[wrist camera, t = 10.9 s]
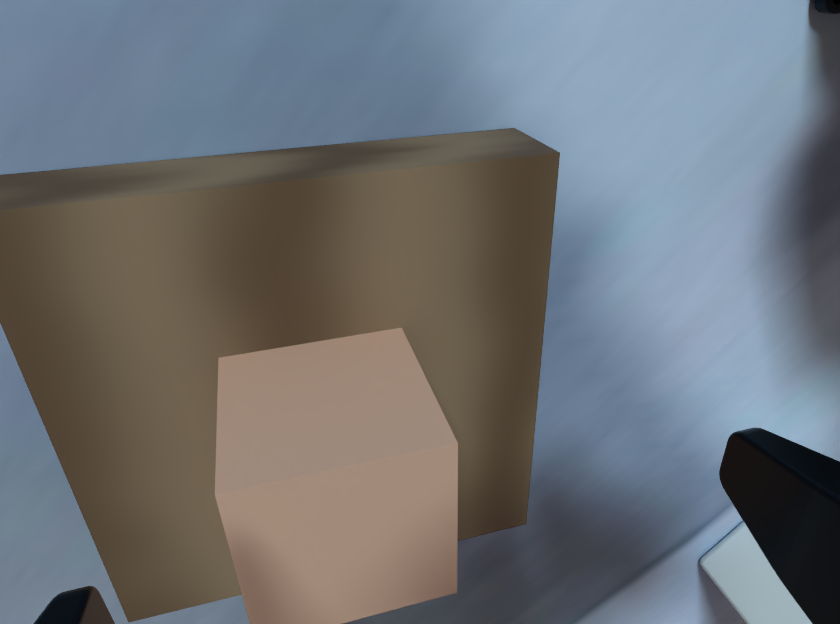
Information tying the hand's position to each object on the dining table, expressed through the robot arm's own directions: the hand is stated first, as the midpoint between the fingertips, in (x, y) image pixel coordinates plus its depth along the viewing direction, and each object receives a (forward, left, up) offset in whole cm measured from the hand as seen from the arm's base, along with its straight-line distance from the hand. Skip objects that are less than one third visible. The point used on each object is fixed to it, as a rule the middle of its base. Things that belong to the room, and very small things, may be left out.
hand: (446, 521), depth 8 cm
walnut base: (+1, +5, -12) cm, 13 cm away
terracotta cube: (+1, +5, -9) cm, 10 cm away
